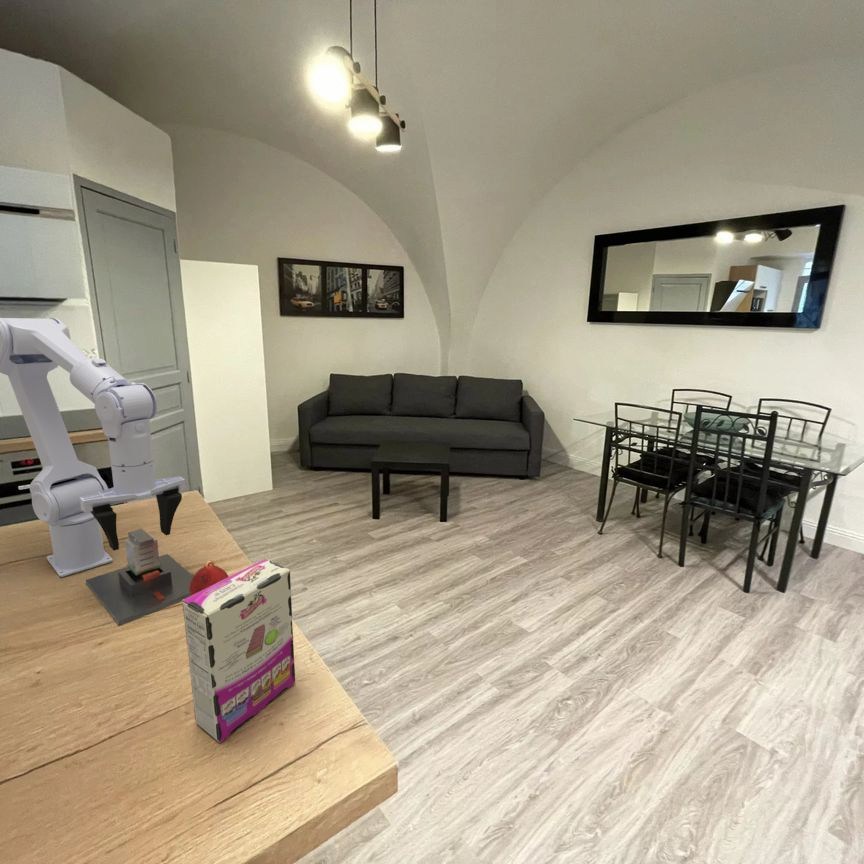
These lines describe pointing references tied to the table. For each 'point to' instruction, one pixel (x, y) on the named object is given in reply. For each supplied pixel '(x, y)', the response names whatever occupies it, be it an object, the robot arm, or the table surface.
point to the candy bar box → (239, 646)
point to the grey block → (142, 552)
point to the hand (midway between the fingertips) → (140, 540)
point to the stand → (141, 589)
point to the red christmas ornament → (206, 577)
